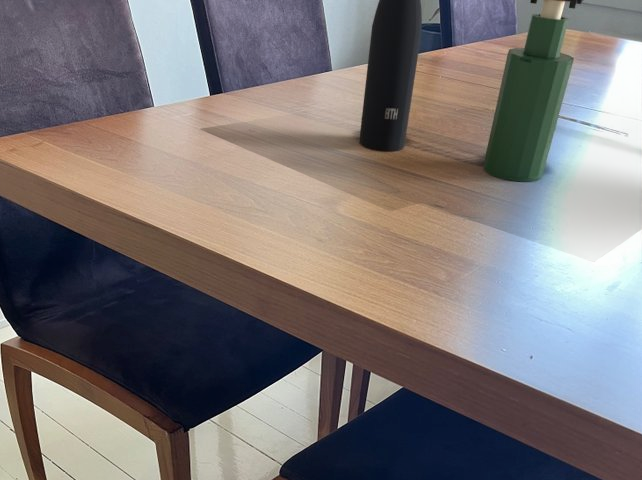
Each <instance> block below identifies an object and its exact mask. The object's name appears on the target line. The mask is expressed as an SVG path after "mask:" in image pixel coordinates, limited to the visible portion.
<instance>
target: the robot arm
mask: <svg viewBox="0 0 642 480" xmlns="http://www.w3.org/2000/svg"><path fill="white" fill-rule="evenodd" d="M583 2H584V0H570V1H569V5H568V8H569V9H573V10H575V9H576V6H577V5H581V4H582V3H583ZM537 3H538V0H530V4H535V5H536V4H537Z"/></svg>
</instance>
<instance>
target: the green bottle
mask: <svg viewBox="0 0 642 480" xmlns="http://www.w3.org/2000/svg"><path fill="white" fill-rule="evenodd" d="M540 14H541V13H532V14H531V17H530V22H529V26H528V30H527V34H526V38H525V44H524V47H514V48H510V49H508V50H507V56H506V59H505V64H504V69H503V74H502V78H501V83H500V87H499V93H498V96H497V100H496V106H495V109H494V115H493V118H492V124H491V128H490V133H489V137H488V142H487V147H486V151H485V156H484V160H483V166H482V169H483V171H484V172H485V173H487V174H488V175H490V176H493V177H494V178H495V177H496V178H498V179H502V180H506V181H512V182H519V183H520V182H522V183H523V182H525V183H526V182H527V183H528V182H536V181H539V180H541V179H542V177H543V175H544V172H545V168H546V164H547V161H548V157H549V154H550V149H551V146H552V142H553V138H554V135H555V131H556V128H557V124H558V120H559V116H560V112H561V109H562V105H563V101H564V98H565V93H566V90H567V86H568V84H569V83H568V82H569V79H570V75H571V72H572V67H573V65H574V61H575V58H574V57H573V56H571V55H569V54H566V53H563V52H561V51H562V47H563V44H564V40H565V36H566V32H567V29H568V25H569V20H570V19H569V18H568V17H565V16H562V15H561V19H548V18H542V17H540Z"/></svg>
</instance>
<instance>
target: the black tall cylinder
mask: <svg viewBox="0 0 642 480" xmlns="http://www.w3.org/2000/svg"><path fill="white" fill-rule="evenodd" d="M422 13H423V12H422V2H421V0H378V3H377V6H376V10H375V13H374V16H373V21H372V25H371V31H370V32H371V33H370V42H369V51H368V57H367V58H368V59H367V60H368V61H367V69H366V77H365V85H364V86H365V87H364V94H363V104H362V113H361V122H360V130H359V139H358V141H359V142H358V143H359V145H361V146H362V147H364V148H366V149H369V150H371V151H372V150H373V151H378V152H398V151H401V150H403V149H404V148H405V147H406V139H407V132H408V125H409V119H410V113H411V105H412V99H413V92H414V85H415V78H416V71H417V65H418V59H419V51H420V45H421V38H422V30H423V27H422V26H423V16H422V15H423V14H422Z"/></svg>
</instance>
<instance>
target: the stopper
mask: <svg viewBox="0 0 642 480" xmlns="http://www.w3.org/2000/svg"><path fill="white" fill-rule="evenodd" d="M566 2H570V0H543V1H542V6H541V10H540V13H539V14H540V17H542V18H548V19H561V16H562V14H563V11H564V7H565V3H566Z"/></svg>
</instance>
